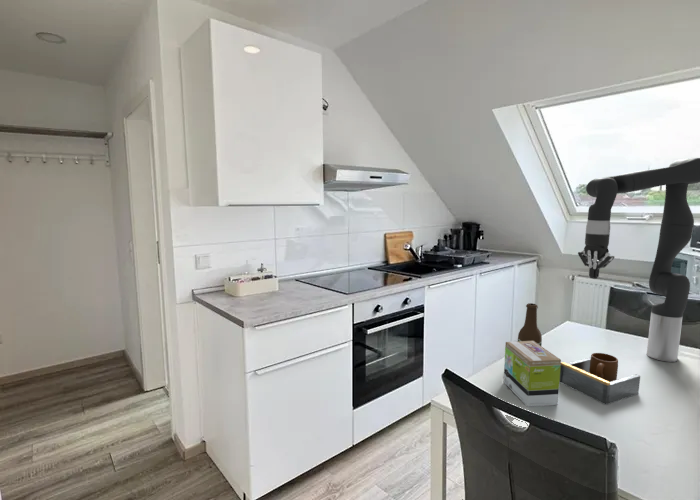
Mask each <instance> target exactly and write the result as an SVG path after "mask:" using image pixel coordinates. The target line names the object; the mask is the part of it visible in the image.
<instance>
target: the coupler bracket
mask: <svg viewBox="0 0 700 500" xmlns="http://www.w3.org/2000/svg"><path fill="white" fill-rule="evenodd" d="M590 359H591V356H590V357H586V358H583V359H578V360H575V361H571V362H565V361H561V368H560V381H559V383H561V384H563V385H565V386H567V387H569V388H571V389H573V390H575V391H578V392H580V393H581V394H583V395H585V396H587V397H590V398H591V399H593V400H596V401H598V402H599V403H601V404H604V405H608V404H612V403H615V402H618V401H620V400H621V401H622V400H623V399H627V398H630V397H633V396H636V395H639V392H640V391H639V390H640V385H641V384H640V381H641V375H639V374H638V373H637V374H633V375H630V376H629V375H628V376H626V377H622V378H619V379H618V378H617V380H615V381H612V382H609V381H606V380H604V379H602V378H599V377H597V376H595V375H592V374H590V373H589V369H590Z"/></svg>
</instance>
